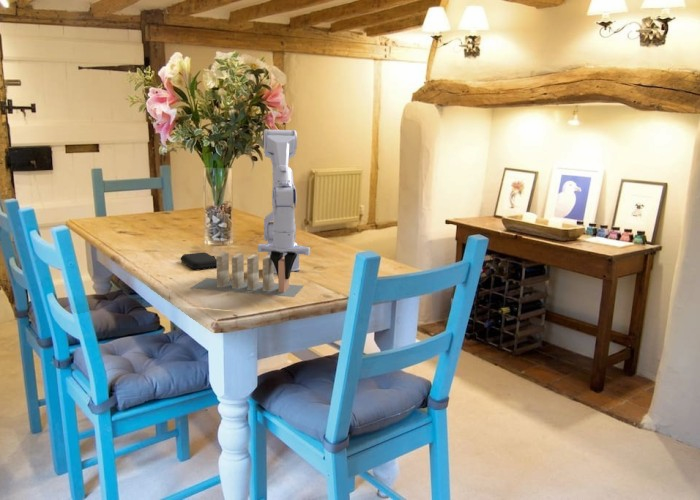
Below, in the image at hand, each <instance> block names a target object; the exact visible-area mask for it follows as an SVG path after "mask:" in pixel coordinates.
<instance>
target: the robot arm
mask: <svg viewBox="0 0 700 500" xmlns="http://www.w3.org/2000/svg"><path fill="white" fill-rule="evenodd" d="M297 148H298V133H297V131H296V129H293V130H291V129H268V128H265V129H264V131H263V153H264V157H266V158H269V159H270V161H271V164H272V172H271V173H272V190H271V205H272V211H271V212H270V213H267V215H266V216H265V217H264V219H263V222H264V223H263V240H264V242H266V243H259V244H257V253H262V252H263V253H264V252H265V253H267V256H270V258H271V260H272V261H273V263H274V275H277V277H278V261H279V260H280V259H281V258H283V257H284V258H285V279H289V280H290V277H291V272H297V271H301V268H300V255H304V256H310V254H311V247H309V246H303V245H298V244H297V242H296V235H297V234H296V232H297V231H296V230H297V229H296V219H295V209H296V208H297V202H298V200H297V198H298V197H297V189H296V185H295V184H294V172H293V170H292V168H291V167H290V166H289V159H292V158H294V157H295V154H296V150H297Z"/></svg>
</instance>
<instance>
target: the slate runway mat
mask: <svg viewBox="0 0 700 500" xmlns="http://www.w3.org/2000/svg"><path fill="white" fill-rule="evenodd" d="M303 288H304V285H300V284H290V283H289V288H288V289H287V290H286V291H285V292H284V293H283V292H278V283H275V282H274V287H272V288H271V289H270V290H269V291H263V281H262V282H261V281H259V285H258V286H257V287H256V288H255V289H254V290H248V288H247V280H244V284H243V285H242V286H241V287H239V288H238V289H235V288H232V279H229V283H228V284H227V285H225V286H224V287H223V288H222V287H217V278H213V277H205V278H203V279H202V280H201V281H199V282H198V283H196V284H195V285H193V286H192V287H190V289H193V290H194V289H196V290H204V291H205V290H206V291H217V292H228V293H229V292H230V293H243V294H253V295H266V296H277V297H279V296H280V297H290V298H292V297H293V298H294V297H296V296H297V294H298V293H299V292H300V291H301V290H302V289H303Z"/></svg>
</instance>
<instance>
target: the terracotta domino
mask: <svg viewBox="0 0 700 500" xmlns="http://www.w3.org/2000/svg"><path fill="white" fill-rule="evenodd" d="M277 279H278V280H277V282H278V283H277V284H278V292H283V293H284V292H285V291H286V290H287V289H288V288H289V284H290V278H289V279H285V258H284V257H283V258H281V259H280V260H279V261H278V276H277Z"/></svg>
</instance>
